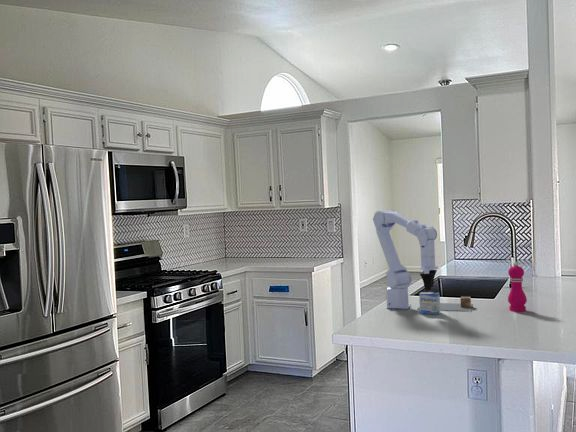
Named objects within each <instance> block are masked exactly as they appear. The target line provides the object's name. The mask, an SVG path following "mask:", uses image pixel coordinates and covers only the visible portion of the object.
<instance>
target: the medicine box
mask: <svg viewBox="0 0 576 432" xmlns="http://www.w3.org/2000/svg"><path fill="white" fill-rule="evenodd" d="M440 294H441V293H440V292H433V293H427V292H425V291H424V292H423V291H422V292H420V293H419V294H418V296H419V297H418V298H419V306H420V310H419V314H420V315H440V314H441V311H440V303H441V297H440Z"/></svg>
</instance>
